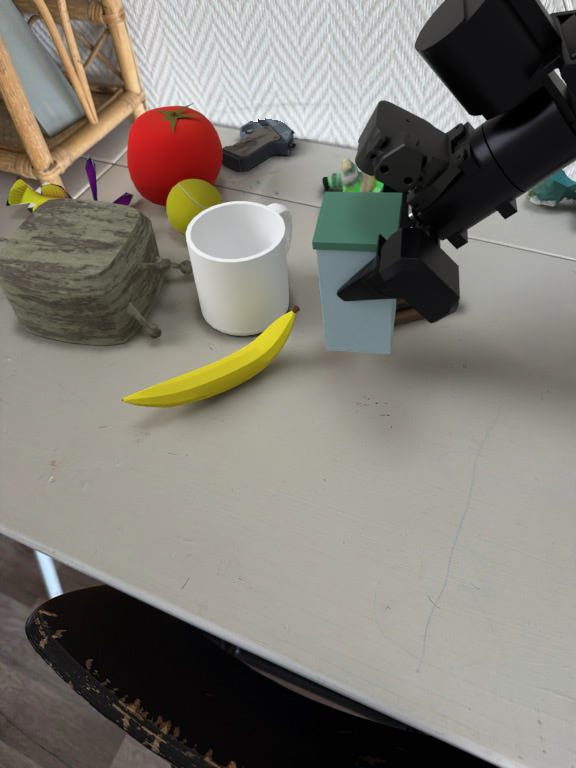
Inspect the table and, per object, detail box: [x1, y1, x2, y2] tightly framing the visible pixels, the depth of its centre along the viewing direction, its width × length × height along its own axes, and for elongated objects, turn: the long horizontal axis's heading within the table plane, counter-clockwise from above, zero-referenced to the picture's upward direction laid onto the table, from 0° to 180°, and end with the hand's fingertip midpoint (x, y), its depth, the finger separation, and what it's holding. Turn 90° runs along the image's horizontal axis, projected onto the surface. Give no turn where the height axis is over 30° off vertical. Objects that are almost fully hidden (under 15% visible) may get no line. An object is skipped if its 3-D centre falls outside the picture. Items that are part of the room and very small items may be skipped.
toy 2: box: [321, 157, 383, 194], centre depth 77 cm, size 10×7×15 cm
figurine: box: [526, 169, 576, 207], centre depth 76 cm, size 12×9×8 cm
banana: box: [121, 305, 300, 409], centre depth 58 cm, size 3×19×6 cm, turn 122°
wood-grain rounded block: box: [0, 198, 193, 346], centre depth 66 cm, size 14×9×25 cm
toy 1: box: [5, 153, 135, 214], centre depth 76 cm, size 12×19×10 cm
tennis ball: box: [165, 179, 224, 237], centre depth 74 cm, size 7×7×7 cm
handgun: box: [222, 118, 297, 172], centre depth 89 cm, size 2×14×12 cm
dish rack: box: [394, 299, 460, 326], centre depth 67 cm, size 10×8×2 cm
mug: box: [185, 200, 293, 337], centre depth 64 cm, size 13×10×10 cm
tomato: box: [126, 102, 223, 207], centre depth 78 cm, size 12×14×11 cm
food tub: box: [311, 191, 403, 355], centre depth 52 cm, size 6×6×13 cm
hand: (344, 269), depth 52 cm, fingers closed on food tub, 7 cm apart
